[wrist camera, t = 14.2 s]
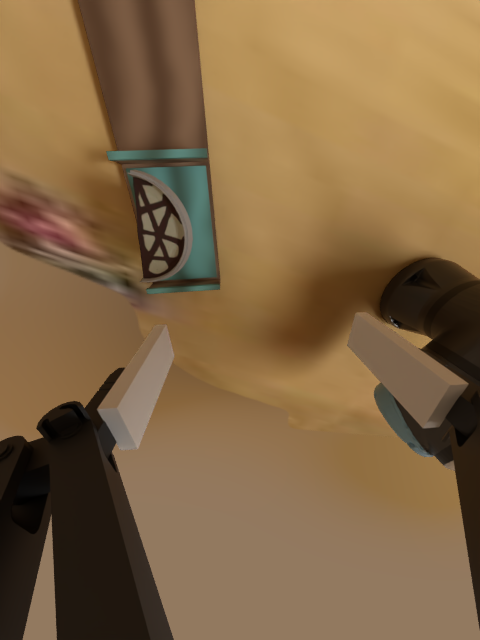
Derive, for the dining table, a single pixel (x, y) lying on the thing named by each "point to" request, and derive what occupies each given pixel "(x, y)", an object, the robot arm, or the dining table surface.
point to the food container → (160, 228)
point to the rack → (159, 113)
